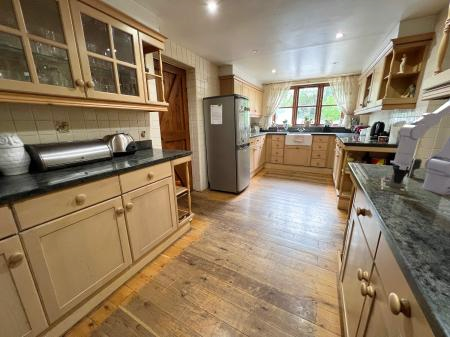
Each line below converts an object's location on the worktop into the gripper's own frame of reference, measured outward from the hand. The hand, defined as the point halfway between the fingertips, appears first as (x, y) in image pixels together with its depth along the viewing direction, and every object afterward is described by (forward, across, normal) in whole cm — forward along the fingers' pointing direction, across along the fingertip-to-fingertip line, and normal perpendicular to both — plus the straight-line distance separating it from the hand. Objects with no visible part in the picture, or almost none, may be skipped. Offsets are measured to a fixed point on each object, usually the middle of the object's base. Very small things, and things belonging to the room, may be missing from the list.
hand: (396, 181), depth 86 cm
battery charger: (+5, -34, +9) cm, 35 cm away
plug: (+3, 0, 0) cm, 3 cm away
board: (+4, -6, 0) cm, 8 cm away
